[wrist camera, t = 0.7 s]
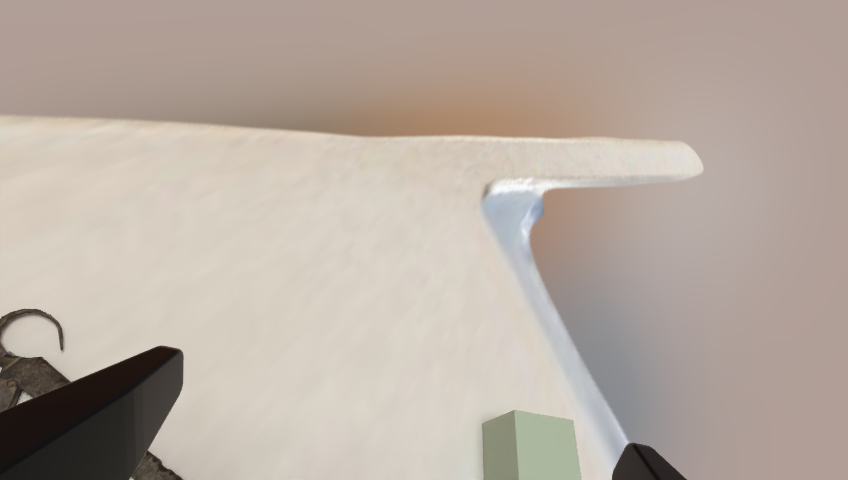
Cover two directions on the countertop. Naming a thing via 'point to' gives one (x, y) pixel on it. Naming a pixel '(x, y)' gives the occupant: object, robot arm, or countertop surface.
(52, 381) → the brown tree branch
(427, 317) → the countertop surface
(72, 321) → the countertop surface
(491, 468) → the bar
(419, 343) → the countertop surface
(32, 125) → the countertop surface
